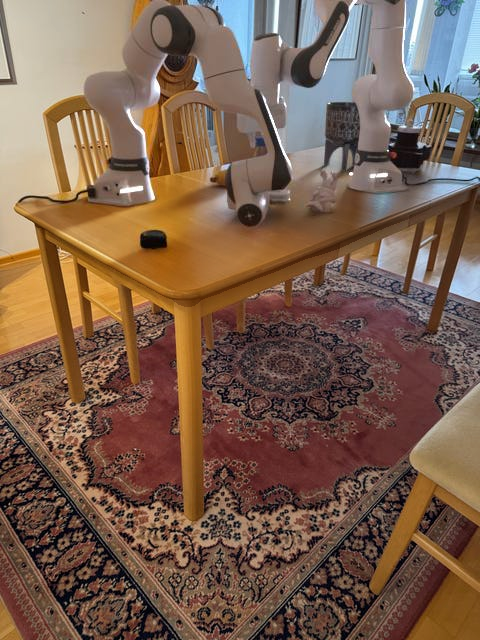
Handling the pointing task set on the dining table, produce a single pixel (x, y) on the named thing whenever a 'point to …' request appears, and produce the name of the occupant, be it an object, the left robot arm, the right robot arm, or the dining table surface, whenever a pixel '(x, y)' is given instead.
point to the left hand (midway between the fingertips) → (260, 189)
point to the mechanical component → (409, 148)
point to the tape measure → (153, 239)
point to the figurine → (324, 194)
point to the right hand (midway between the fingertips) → (261, 145)
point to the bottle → (260, 151)
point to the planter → (341, 130)
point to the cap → (260, 141)
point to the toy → (219, 178)
